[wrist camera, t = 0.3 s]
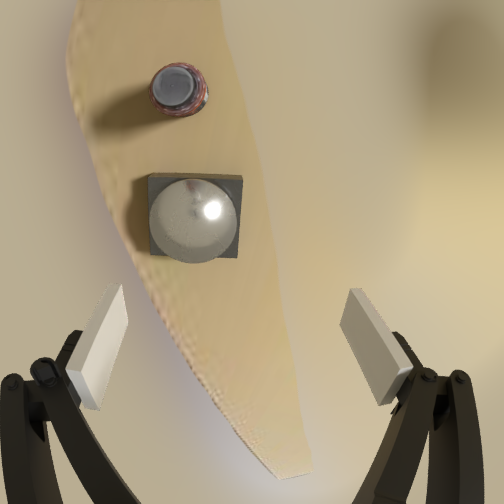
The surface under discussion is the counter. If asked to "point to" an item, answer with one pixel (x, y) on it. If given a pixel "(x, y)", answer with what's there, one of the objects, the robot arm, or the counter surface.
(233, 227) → the kitchen scale
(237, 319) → the counter surface
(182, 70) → the supplement bottle
